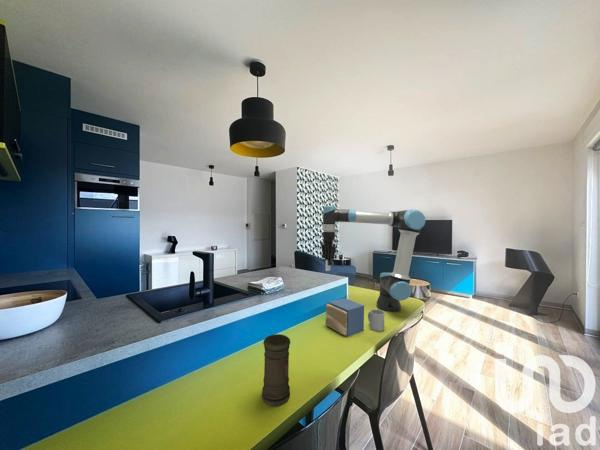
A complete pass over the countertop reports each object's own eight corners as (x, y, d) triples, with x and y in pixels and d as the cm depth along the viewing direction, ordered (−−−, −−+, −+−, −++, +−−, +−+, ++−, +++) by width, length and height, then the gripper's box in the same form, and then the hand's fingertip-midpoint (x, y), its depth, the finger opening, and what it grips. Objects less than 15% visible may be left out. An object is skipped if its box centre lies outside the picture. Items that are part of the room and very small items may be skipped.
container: (266, 410, 71) (267, 349, 71) (258, 390, 79) (259, 336, 79) (294, 401, 75) (295, 344, 74) (284, 383, 83) (285, 331, 83)
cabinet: (343, 321, 136) (344, 298, 136) (363, 330, 125) (364, 305, 125) (328, 326, 129) (328, 301, 129) (347, 336, 118) (348, 310, 118)
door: (326, 323, 130) (327, 303, 129) (346, 334, 117) (347, 312, 117) (324, 324, 129) (325, 303, 129) (344, 335, 117) (345, 312, 117)
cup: (376, 332, 123) (377, 315, 123) (363, 325, 132) (363, 308, 131) (387, 330, 126) (387, 313, 126) (373, 322, 135) (373, 306, 135)
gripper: (317, 230, 148) (316, 269, 149) (331, 232, 138) (330, 273, 138) (326, 230, 153) (325, 268, 153) (341, 231, 142) (340, 271, 143)
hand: (327, 270), depth 146 cm, fingers closed
